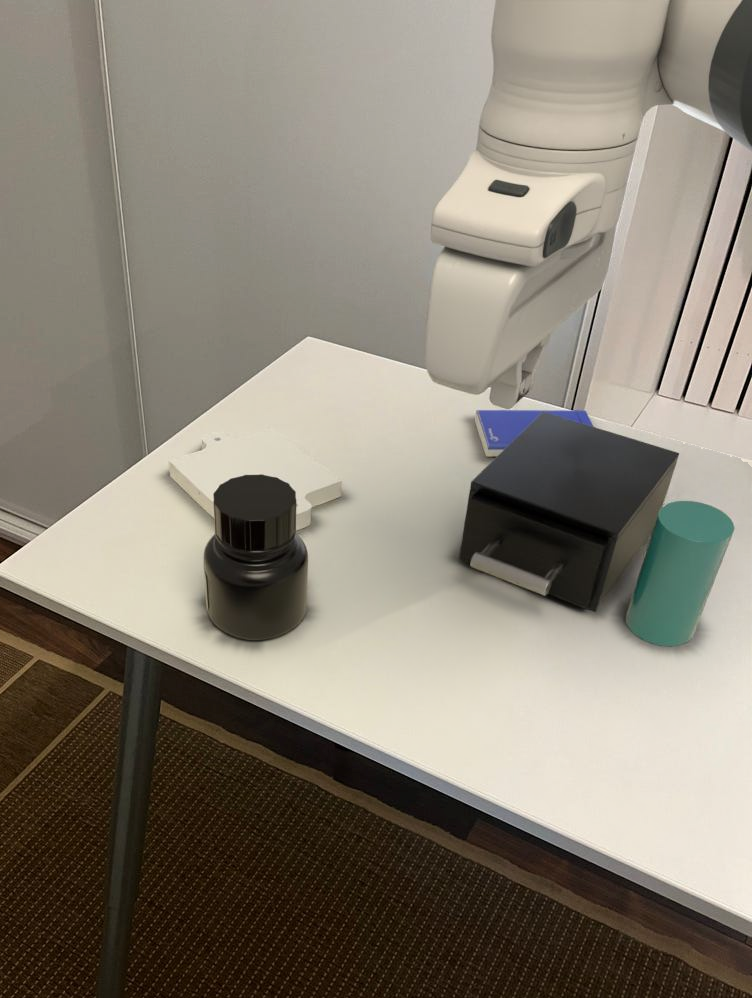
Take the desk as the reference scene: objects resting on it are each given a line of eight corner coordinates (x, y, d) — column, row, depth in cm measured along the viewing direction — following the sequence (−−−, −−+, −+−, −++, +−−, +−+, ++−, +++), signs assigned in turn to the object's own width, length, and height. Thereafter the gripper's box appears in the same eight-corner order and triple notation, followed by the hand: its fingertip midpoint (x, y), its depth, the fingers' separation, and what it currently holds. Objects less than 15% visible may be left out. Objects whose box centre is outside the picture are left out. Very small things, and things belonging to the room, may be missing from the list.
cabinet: (595, 612, 86) (618, 533, 81) (458, 558, 92) (470, 481, 87) (655, 528, 96) (679, 452, 90) (527, 484, 102) (542, 411, 96)
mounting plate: (159, 465, 105) (157, 450, 103) (260, 432, 110) (260, 417, 109) (246, 549, 93) (246, 533, 92) (355, 508, 99) (356, 492, 97)
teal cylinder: (703, 619, 86) (743, 515, 78) (681, 655, 82) (721, 550, 75) (638, 594, 88) (672, 492, 81) (615, 629, 85) (648, 525, 77)
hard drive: (488, 445, 105) (603, 445, 105) (476, 408, 111) (585, 408, 111) (486, 458, 106) (600, 458, 106) (474, 420, 112) (582, 420, 112)
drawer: (567, 635, 83) (584, 572, 78) (438, 582, 88) (447, 520, 84) (643, 530, 94) (662, 470, 90) (525, 489, 99) (537, 430, 95)
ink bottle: (265, 565, 92) (264, 454, 84) (330, 610, 87) (335, 497, 79) (183, 609, 87) (173, 496, 79) (247, 659, 82) (244, 544, 74)
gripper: (567, 133, 64) (530, 332, 73) (416, 221, 52) (394, 447, 61) (662, 149, 62) (611, 354, 71) (525, 246, 49) (485, 479, 58)
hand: (509, 398), depth 66 cm, fingers closed
